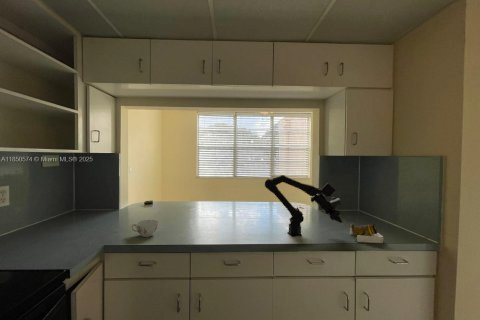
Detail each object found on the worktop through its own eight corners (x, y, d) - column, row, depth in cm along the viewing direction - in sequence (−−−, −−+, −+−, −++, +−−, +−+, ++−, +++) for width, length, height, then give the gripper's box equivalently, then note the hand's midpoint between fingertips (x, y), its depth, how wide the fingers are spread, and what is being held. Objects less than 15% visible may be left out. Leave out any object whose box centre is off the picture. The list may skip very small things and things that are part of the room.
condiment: (354, 239, 146) (377, 236, 139) (349, 224, 148) (371, 220, 141) (357, 237, 152) (379, 233, 145) (352, 222, 154) (373, 218, 147)
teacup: (160, 232, 156) (160, 219, 155) (155, 239, 143) (155, 225, 143) (135, 232, 155) (135, 219, 154) (127, 239, 142) (127, 225, 142)
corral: (357, 241, 144) (357, 235, 144) (349, 233, 158) (350, 228, 158) (382, 243, 142) (383, 236, 142) (373, 235, 156) (373, 229, 156)
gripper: (337, 196, 142) (357, 217, 141) (329, 191, 161) (347, 209, 160) (322, 209, 143) (341, 230, 142) (316, 203, 162) (333, 221, 161)
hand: (341, 222), depth 151 cm, fingers closed
